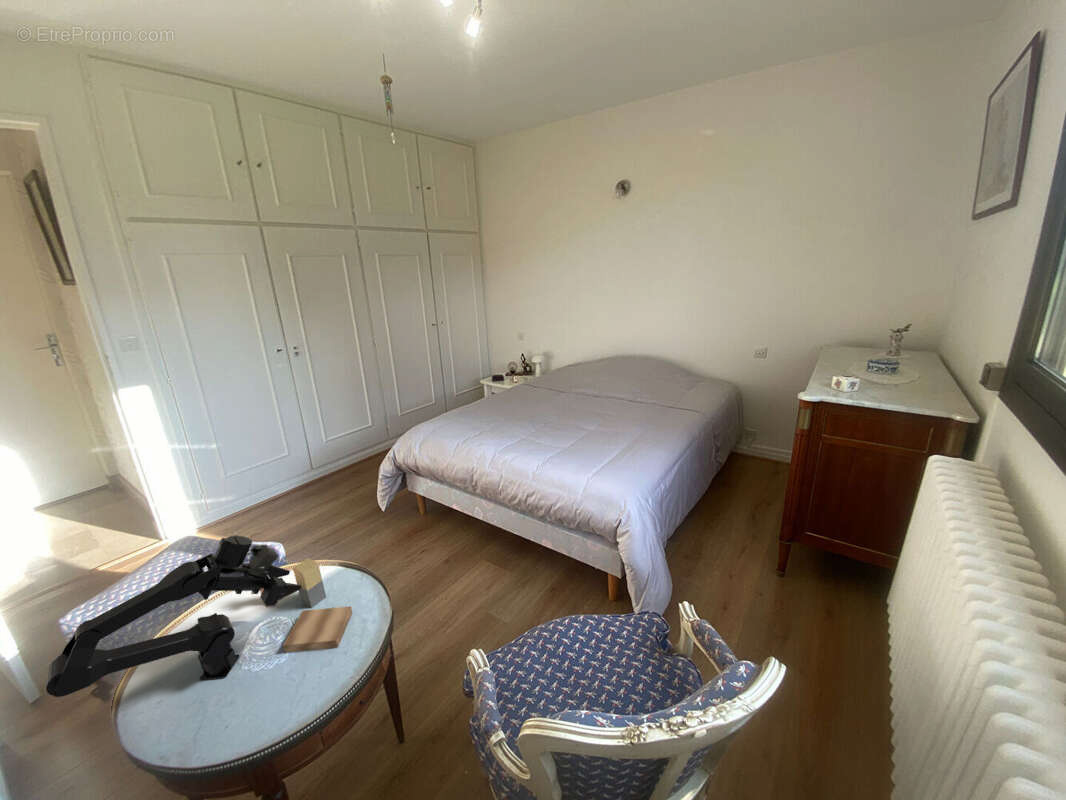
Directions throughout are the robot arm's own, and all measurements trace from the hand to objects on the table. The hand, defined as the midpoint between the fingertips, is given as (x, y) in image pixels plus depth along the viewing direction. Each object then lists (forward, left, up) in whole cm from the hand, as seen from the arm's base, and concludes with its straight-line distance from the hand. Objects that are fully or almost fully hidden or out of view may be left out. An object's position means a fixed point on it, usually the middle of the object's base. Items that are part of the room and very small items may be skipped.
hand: (295, 579), depth 122 cm
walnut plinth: (+6, -5, -14) cm, 16 cm away
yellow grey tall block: (-1, +8, -14) cm, 16 cm away
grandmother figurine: (-15, +9, -14) cm, 22 cm away
